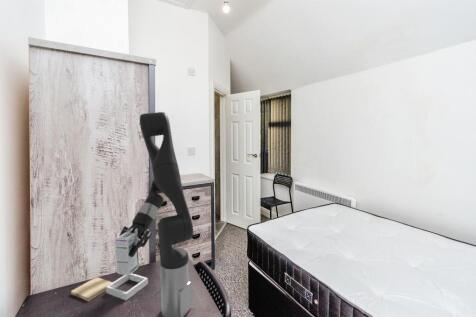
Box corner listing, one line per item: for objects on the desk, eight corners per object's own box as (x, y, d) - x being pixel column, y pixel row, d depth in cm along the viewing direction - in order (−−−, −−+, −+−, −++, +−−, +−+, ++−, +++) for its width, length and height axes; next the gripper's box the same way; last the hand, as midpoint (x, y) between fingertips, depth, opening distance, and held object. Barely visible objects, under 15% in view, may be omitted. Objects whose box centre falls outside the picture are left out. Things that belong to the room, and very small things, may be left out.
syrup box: (129, 275, 86) (128, 238, 85) (116, 274, 87) (114, 237, 86) (139, 267, 92) (137, 232, 91) (126, 266, 93) (125, 231, 92)
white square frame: (148, 283, 93) (147, 278, 93) (126, 300, 83) (126, 294, 83) (129, 277, 97) (128, 272, 97) (106, 293, 87) (106, 286, 87)
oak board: (113, 285, 92) (113, 282, 92) (88, 301, 83) (88, 298, 82) (96, 279, 96) (96, 276, 96) (71, 294, 86) (71, 291, 86)
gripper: (128, 209, 98) (104, 247, 88) (153, 213, 92) (131, 254, 82) (138, 218, 103) (116, 254, 93) (163, 222, 97) (143, 261, 87)
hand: (123, 254), depth 87 cm, fingers closed on syrup box, 6 cm apart
